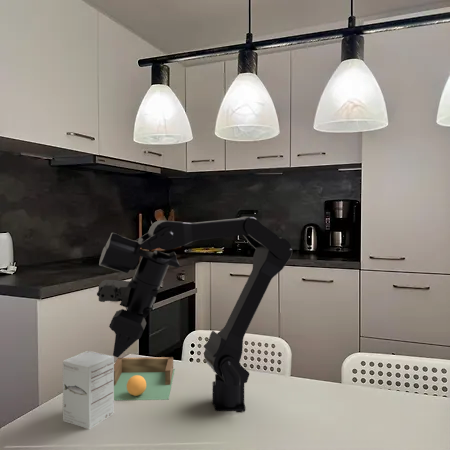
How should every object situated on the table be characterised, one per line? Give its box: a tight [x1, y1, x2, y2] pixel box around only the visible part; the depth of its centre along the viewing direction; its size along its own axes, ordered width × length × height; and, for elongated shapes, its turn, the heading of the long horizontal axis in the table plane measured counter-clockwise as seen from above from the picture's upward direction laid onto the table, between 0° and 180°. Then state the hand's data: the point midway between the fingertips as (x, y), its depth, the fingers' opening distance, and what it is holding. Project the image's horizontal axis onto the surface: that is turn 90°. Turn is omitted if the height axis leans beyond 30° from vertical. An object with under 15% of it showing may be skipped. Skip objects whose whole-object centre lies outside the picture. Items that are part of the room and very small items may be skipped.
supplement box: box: [62, 350, 115, 430], centre depth 86 cm, size 7×7×13 cm
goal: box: [114, 356, 174, 385], centre depth 107 cm, size 14×9×4 cm, turn 92°
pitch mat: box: [114, 368, 176, 401], centre depth 103 cm, size 14×18×1 cm
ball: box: [127, 375, 146, 396], centre depth 97 cm, size 4×4×4 cm
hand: (120, 346), depth 88 cm, fingers open, 9 cm apart
